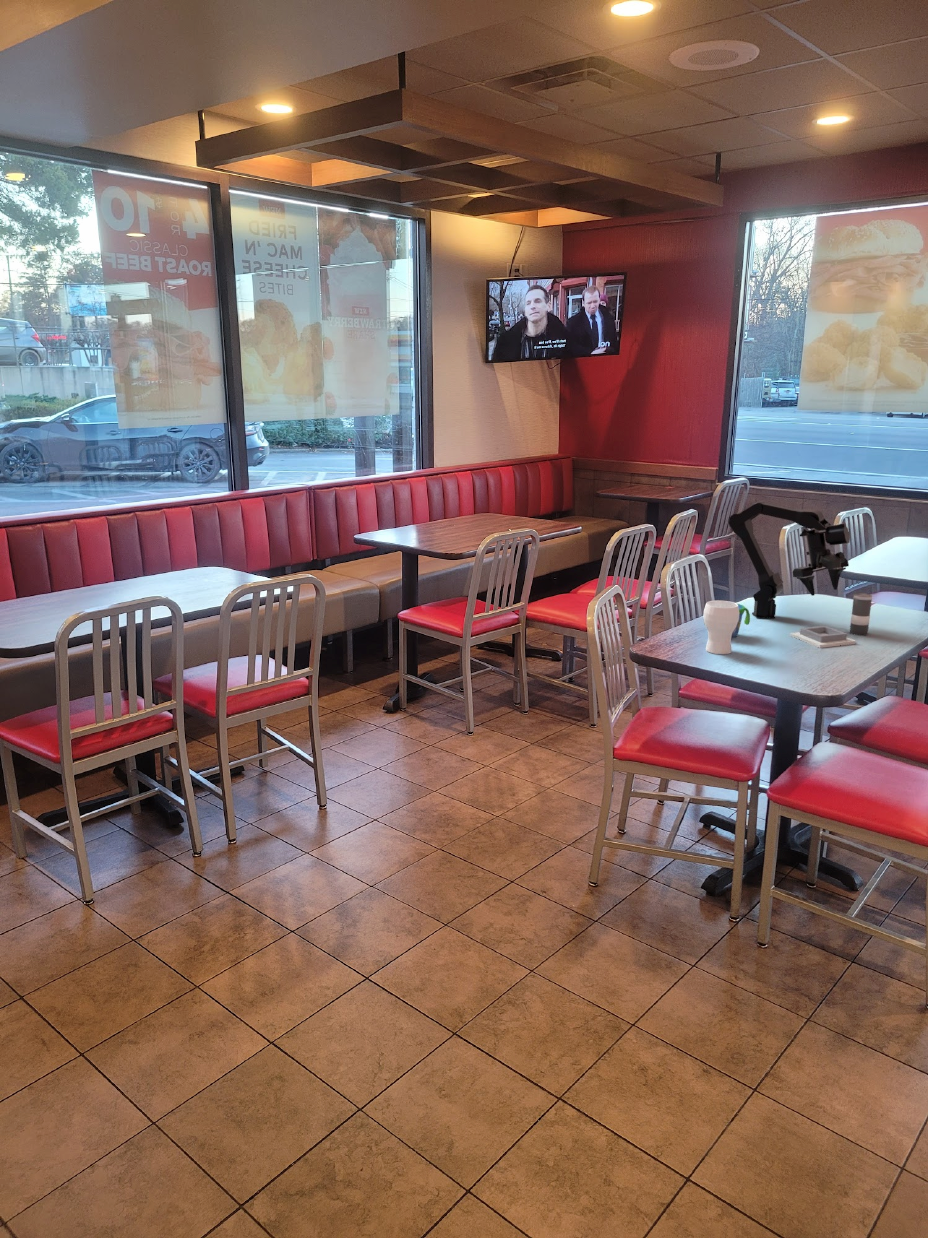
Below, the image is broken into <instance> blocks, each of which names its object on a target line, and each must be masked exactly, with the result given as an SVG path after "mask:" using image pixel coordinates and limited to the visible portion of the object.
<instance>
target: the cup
mask: <svg viewBox="0 0 928 1238" xmlns="http://www.w3.org/2000/svg"><path fill="white" fill-rule="evenodd" d="M738 604H739V603H737V604H736V602H734V601H729V600H728V601H727V600H710V601H709V600H708V601H707V602H706V603H705V606H704V609H703V623H705V624H704V626H705V627H706V630H707V637H708V638H707V642H706V645H705V646H706V647H705V651H706V652H708V653H711V654H714V655H715V654H716V655H727V654H730V653H732V640H731V639H732V637H731V636H732V632H733V631H734V629H735V628H736V626H737V623H738V621H739V607H738Z"/></svg>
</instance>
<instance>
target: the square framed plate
mask: <svg viewBox="0 0 928 1238" xmlns="http://www.w3.org/2000/svg"><path fill="white" fill-rule="evenodd" d="M799 629H800V630H799V631H798V632H790V637H791V638H794V637H795V638H794V639H796V638H797V640H799V639H800V641H802V642H804V643H806V642H807V643H806V644H808V645H812V646H813V647H817V648H818V647H819V649H822V648H830V647H839V646H840V645H841V646H848V645H849V646H850V645H856V644H857V640H855V639H853V638H849V637H847V636H848V633H846V632H843V631H841V630H839V629H836V628H832V627H830V626H827V625H817V626H812V627H811V626H809V627H802V628H799Z"/></svg>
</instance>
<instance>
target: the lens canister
mask: <svg viewBox="0 0 928 1238" xmlns="http://www.w3.org/2000/svg"><path fill="white" fill-rule="evenodd" d="M872 601H873V595H871V594H869V593H864V592H862V593H861V592H859V593H857V592H856V593H853V599H852V607H851V609H852V610H851V616H850V626H849V634H851V635H854V634H855V635H856V636H867V635H868V634H869V633H868V631H869V626H870V618H871V609H872ZM855 635H854V636H855Z"/></svg>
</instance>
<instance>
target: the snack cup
mask: <svg viewBox="0 0 928 1238" xmlns="http://www.w3.org/2000/svg"><path fill="white" fill-rule="evenodd" d="M735 603H736V602H735ZM736 604H738V607H739V621H738V623H737V626H736V628H735V629H734V631H733V632H732V636H731V638H737V636H738V635H739V631H740V628H741V624H742V619H743V615H744V613H745V618H744V624H745V625H746V626H747V625H749V624H750V621H751V615H750V612H749V609H748V608H747V607H745V606H744V605H743V604H740V603H736ZM703 623H704V622H703ZM704 625H705V623H704Z"/></svg>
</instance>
